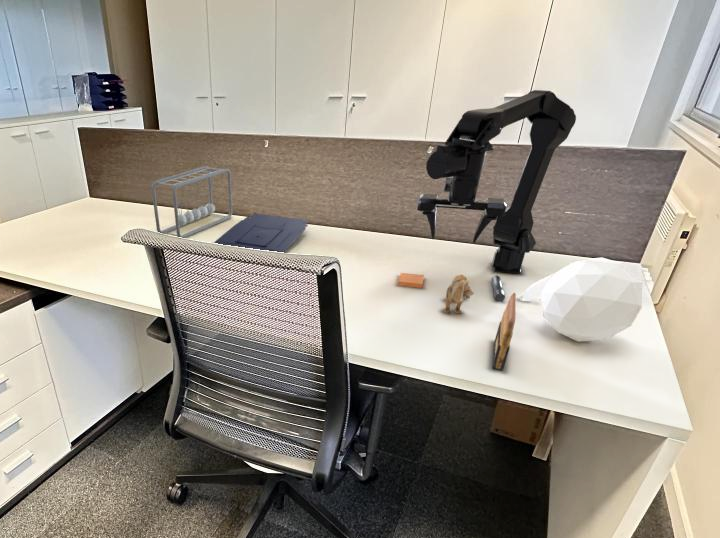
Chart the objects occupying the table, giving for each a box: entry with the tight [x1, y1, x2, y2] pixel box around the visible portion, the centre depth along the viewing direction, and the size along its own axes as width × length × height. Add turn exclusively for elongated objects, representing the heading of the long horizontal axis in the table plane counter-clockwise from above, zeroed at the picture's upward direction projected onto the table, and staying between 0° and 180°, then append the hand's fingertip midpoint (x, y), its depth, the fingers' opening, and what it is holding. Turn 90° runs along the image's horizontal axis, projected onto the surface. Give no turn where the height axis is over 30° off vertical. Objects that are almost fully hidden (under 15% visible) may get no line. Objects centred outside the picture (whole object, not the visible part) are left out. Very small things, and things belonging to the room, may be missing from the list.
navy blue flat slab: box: [213, 212, 309, 253], centre depth 158 cm, size 24×30×4 cm
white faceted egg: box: [519, 257, 643, 342], centre depth 104 cm, size 16×22×28 cm
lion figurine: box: [443, 274, 475, 314], centre depth 114 cm, size 15×5×9 cm, turn 162°
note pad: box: [397, 272, 425, 289], centre depth 128 cm, size 6×6×1 cm
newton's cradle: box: [151, 165, 233, 239], centre depth 170 cm, size 30×10×18 cm, turn 144°
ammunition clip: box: [491, 292, 516, 371], centre depth 94 cm, size 11×2×12 cm, turn 155°
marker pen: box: [491, 275, 506, 302], centre depth 121 cm, size 2×13×2 cm, turn 161°
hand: (453, 240), depth 118 cm, fingers open, 9 cm apart
